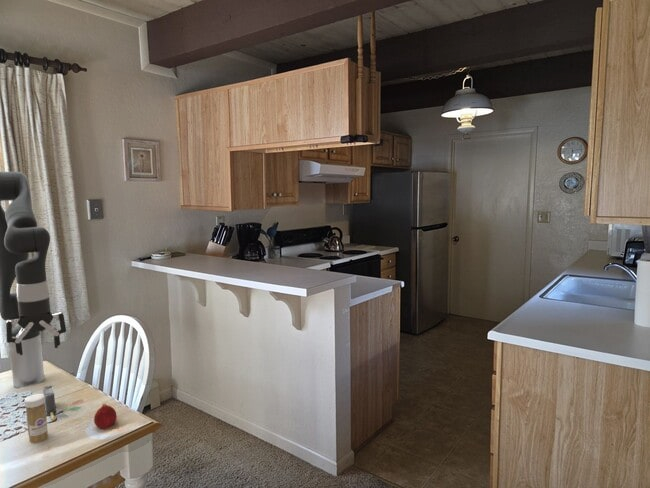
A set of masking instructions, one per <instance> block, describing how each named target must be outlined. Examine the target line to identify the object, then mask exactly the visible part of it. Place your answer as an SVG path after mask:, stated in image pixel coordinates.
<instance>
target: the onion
mask: <svg viewBox="0 0 650 488" xmlns="http://www.w3.org/2000/svg"><path fill="white" fill-rule="evenodd" d="M93 418H94V419H93V422H94V425H95V427H97V428H99V429H101V430H102V429H108V428H111V427H113V426H114V425H115V422H116V421H117V418H118V415H117V412H116V409H115V408H114V407H113V406H110V405H107V404H106V403H105V402H102V405H101V407H99V409H97V411H96V412H95V414H94V417H93Z"/></svg>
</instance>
